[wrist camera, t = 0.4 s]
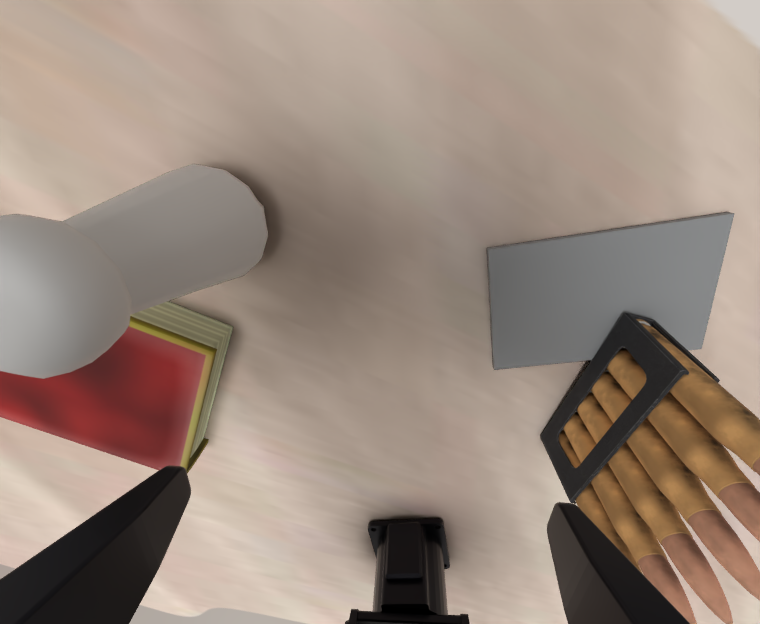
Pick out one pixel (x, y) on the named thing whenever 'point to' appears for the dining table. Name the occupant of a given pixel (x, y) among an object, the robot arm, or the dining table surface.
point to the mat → (602, 288)
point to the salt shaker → (119, 264)
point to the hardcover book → (133, 390)
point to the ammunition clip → (660, 461)
